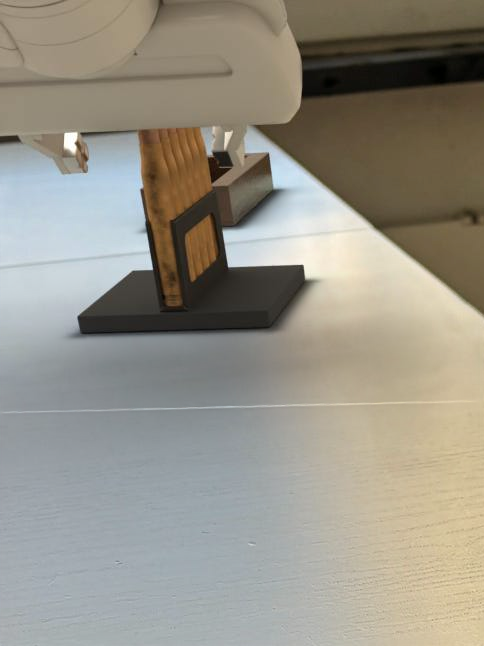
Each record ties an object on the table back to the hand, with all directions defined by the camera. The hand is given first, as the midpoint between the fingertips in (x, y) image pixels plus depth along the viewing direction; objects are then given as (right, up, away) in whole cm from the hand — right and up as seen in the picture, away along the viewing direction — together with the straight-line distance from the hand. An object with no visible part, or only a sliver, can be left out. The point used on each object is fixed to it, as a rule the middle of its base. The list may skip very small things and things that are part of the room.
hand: (154, 160), depth 80 cm
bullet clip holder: (-4, +14, +36) cm, 39 cm away
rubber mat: (+1, -5, +8) cm, 10 cm away
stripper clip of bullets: (+1, -5, +8) cm, 9 cm away
